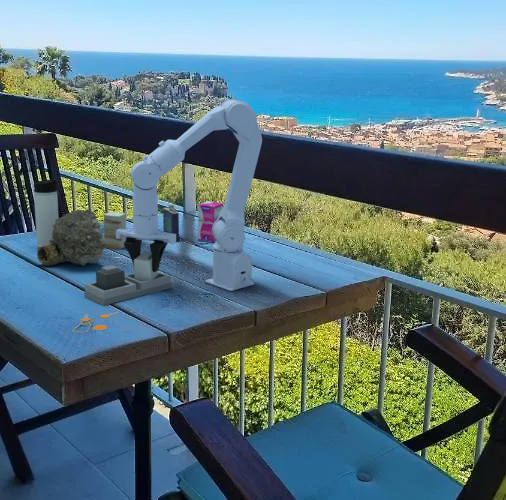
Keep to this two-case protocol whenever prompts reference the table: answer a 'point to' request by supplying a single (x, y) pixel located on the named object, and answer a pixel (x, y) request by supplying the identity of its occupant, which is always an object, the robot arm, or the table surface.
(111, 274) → the twin plug
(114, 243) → the skincare box
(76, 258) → the grey brown rough lump
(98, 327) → the key chain
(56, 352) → the table surface
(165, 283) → the socket strip
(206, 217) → the supplement box
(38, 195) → the travel mug
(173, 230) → the flask
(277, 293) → the table surface
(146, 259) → the grey plug
